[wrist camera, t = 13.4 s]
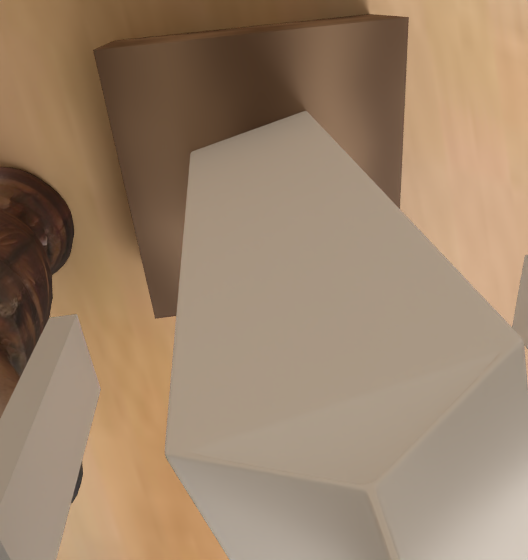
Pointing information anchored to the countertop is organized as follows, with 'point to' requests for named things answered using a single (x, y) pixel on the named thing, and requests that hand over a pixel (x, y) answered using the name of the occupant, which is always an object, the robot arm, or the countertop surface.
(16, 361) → the mortar and pestle
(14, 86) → the countertop surface
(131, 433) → the countertop surface
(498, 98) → the countertop surface
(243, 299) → the milk
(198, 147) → the riser
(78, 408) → the robot arm
